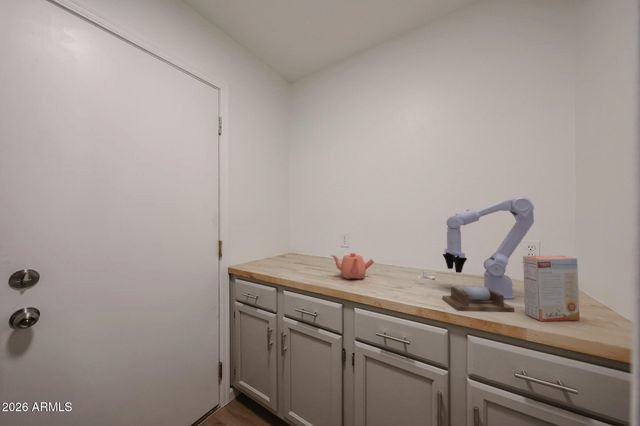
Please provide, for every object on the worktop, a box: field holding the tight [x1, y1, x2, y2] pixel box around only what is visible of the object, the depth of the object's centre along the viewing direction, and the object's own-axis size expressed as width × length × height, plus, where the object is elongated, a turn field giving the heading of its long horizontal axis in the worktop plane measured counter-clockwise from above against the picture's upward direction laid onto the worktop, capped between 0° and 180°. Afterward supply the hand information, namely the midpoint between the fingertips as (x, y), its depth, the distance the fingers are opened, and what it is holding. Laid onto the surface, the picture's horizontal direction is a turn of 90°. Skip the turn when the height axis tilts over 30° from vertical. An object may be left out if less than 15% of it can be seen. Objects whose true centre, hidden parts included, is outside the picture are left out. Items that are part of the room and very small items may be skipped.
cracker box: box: [522, 255, 581, 322], centre depth 79 cm, size 14×6×21 cm, turn 92°
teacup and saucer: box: [417, 270, 436, 281], centre depth 131 cm, size 9×8×4 cm
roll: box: [460, 286, 490, 300], centre depth 90 cm, size 8×5×5 cm, turn 87°
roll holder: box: [441, 286, 515, 313], centre depth 90 cm, size 20×12×6 cm, turn 86°
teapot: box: [330, 252, 375, 280], centre depth 133 cm, size 18×18×14 cm
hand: (454, 270), depth 108 cm, fingers open, 7 cm apart
